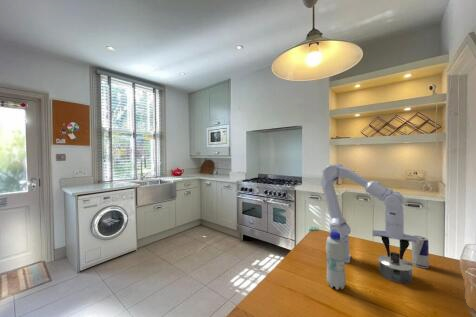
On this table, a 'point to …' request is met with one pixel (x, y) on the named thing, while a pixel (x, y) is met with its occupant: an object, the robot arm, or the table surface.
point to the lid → (395, 262)
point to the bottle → (335, 261)
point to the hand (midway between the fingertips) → (394, 257)
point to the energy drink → (420, 253)
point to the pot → (396, 274)
